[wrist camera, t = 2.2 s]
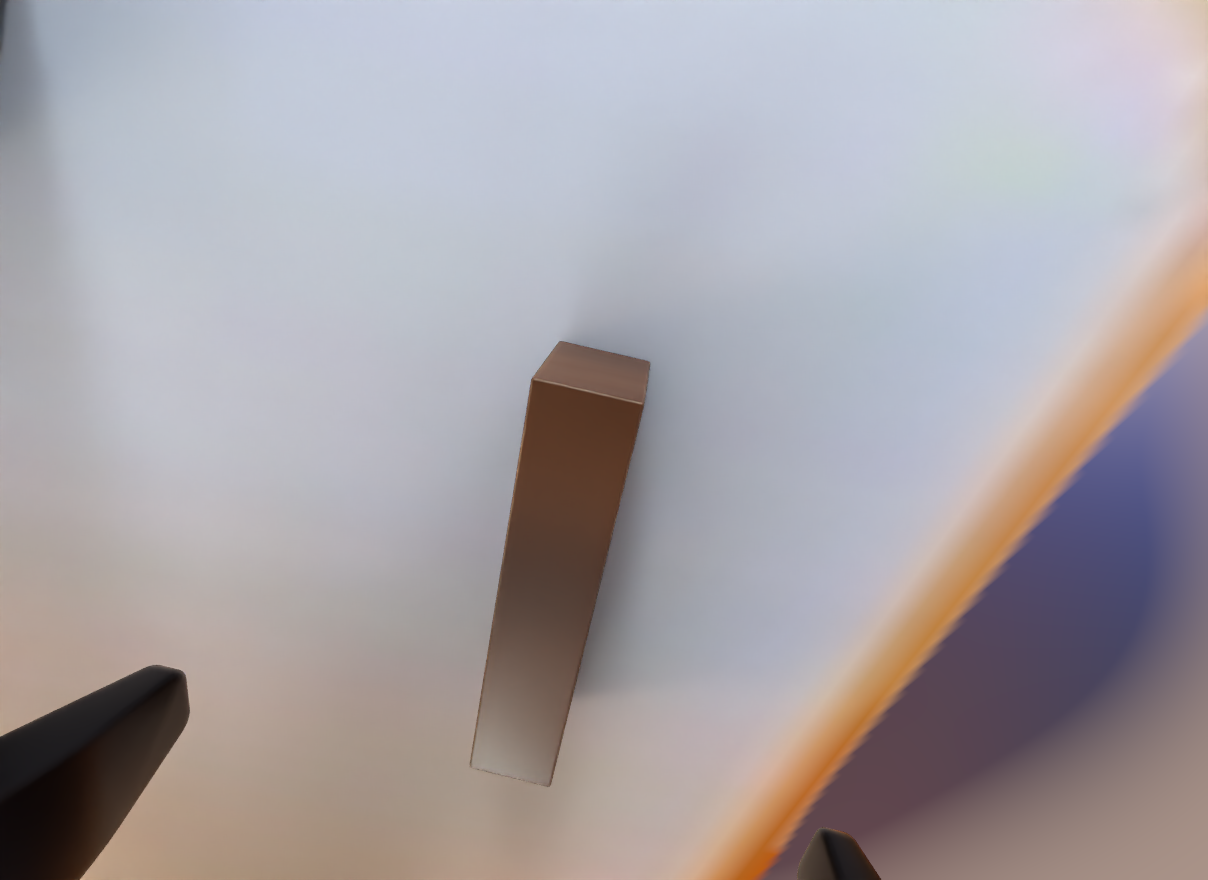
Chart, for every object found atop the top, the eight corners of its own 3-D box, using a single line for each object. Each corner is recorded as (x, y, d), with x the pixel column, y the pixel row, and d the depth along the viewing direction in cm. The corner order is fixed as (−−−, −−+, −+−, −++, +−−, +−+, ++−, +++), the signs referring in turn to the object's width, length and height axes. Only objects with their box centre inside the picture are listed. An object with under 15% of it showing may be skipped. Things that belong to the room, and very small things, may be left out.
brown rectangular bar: (568, 700, 15) (550, 788, 13) (498, 683, 15) (468, 767, 13) (651, 361, 12) (644, 403, 9) (558, 339, 12) (531, 377, 9)
